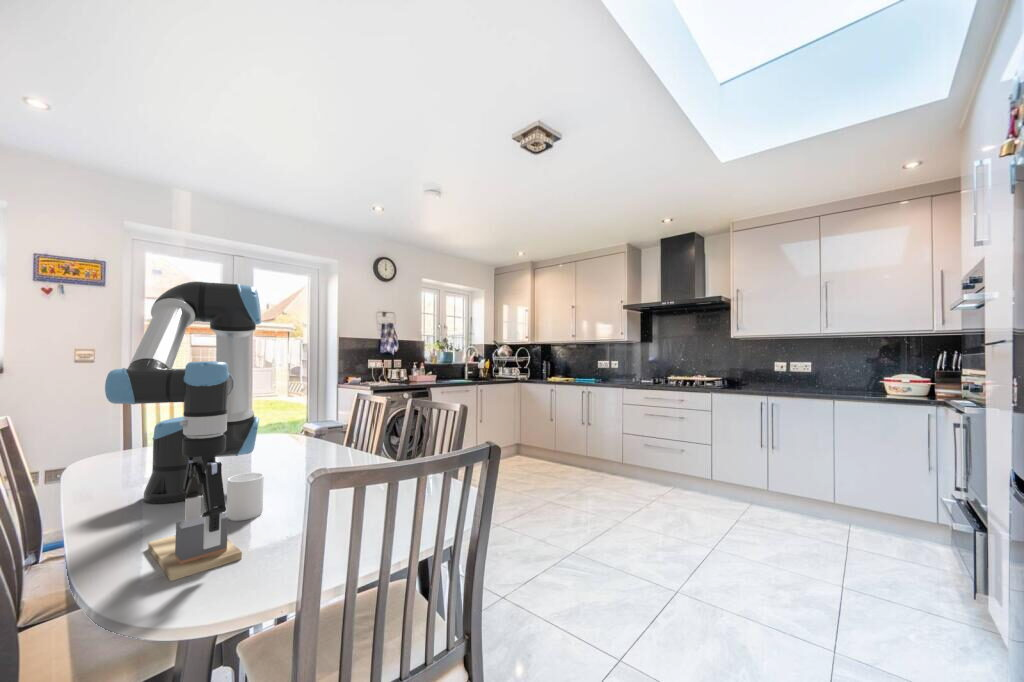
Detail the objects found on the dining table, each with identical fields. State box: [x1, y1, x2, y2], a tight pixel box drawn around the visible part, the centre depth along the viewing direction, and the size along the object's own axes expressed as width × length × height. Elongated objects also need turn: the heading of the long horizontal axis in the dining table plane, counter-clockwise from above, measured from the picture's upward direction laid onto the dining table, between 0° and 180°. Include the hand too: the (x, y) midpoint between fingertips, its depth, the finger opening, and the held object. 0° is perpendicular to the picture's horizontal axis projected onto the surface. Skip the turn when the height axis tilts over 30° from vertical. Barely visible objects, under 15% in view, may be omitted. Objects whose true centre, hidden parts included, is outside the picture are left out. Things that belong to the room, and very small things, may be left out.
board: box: [147, 534, 243, 582], centre depth 93 cm, size 20×12×2 cm, turn 50°
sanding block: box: [175, 512, 229, 564], centre depth 90 cm, size 4×8×7 cm, turn 139°
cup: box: [226, 472, 265, 522], centre depth 116 cm, size 8×12×10 cm
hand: (201, 536), depth 90 cm, fingers open, 13 cm apart
